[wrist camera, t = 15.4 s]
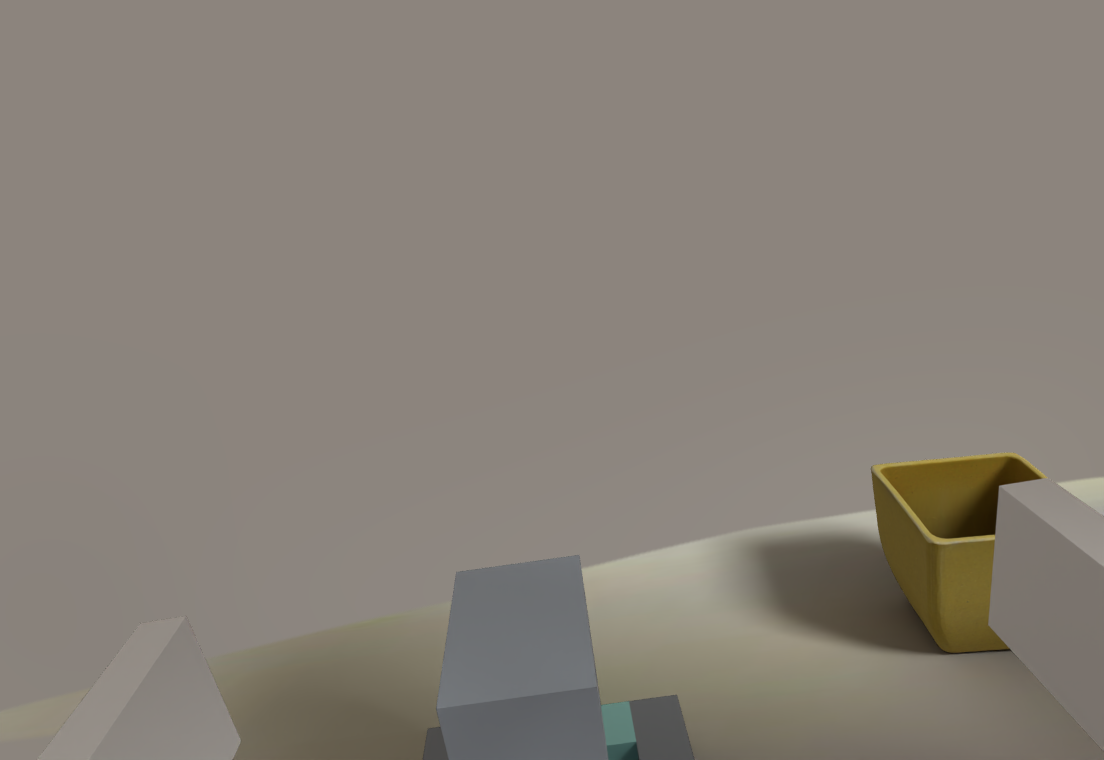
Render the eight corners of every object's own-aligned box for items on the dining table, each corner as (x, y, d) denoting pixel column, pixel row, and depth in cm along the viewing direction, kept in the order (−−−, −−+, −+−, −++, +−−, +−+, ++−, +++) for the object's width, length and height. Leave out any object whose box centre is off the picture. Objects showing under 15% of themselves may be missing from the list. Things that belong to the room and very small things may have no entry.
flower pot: (864, 581, 46) (867, 462, 43) (1003, 572, 45) (1016, 449, 42) (922, 682, 38) (931, 543, 35) (1092, 672, 37) (1117, 529, 34)
